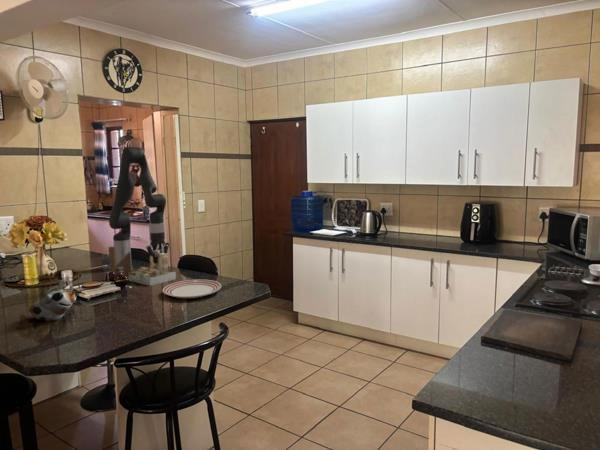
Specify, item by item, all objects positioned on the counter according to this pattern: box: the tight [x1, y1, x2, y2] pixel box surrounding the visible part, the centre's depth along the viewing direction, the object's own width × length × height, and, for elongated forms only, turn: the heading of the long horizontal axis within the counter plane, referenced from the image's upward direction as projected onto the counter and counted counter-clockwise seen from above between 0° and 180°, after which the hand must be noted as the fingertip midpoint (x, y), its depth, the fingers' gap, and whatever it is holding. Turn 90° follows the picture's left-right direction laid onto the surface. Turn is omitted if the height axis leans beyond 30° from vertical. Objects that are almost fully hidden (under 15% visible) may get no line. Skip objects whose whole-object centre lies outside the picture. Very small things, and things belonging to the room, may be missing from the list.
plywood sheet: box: [149, 251, 169, 275], centre depth 241 cm, size 12×2×14 cm, turn 55°
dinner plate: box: [162, 279, 222, 300], centre depth 213 cm, size 28×27×3 cm
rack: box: [128, 270, 177, 286], centre depth 238 cm, size 18×16×4 cm
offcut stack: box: [135, 266, 160, 279], centre depth 235 cm, size 14×7×6 cm, turn 55°
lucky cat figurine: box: [28, 289, 77, 323], centre depth 179 cm, size 15×12×14 cm
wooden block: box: [108, 246, 132, 280], centre depth 239 cm, size 4×11×18 cm, turn 123°
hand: (158, 262), depth 241 cm, fingers open, 3 cm apart
